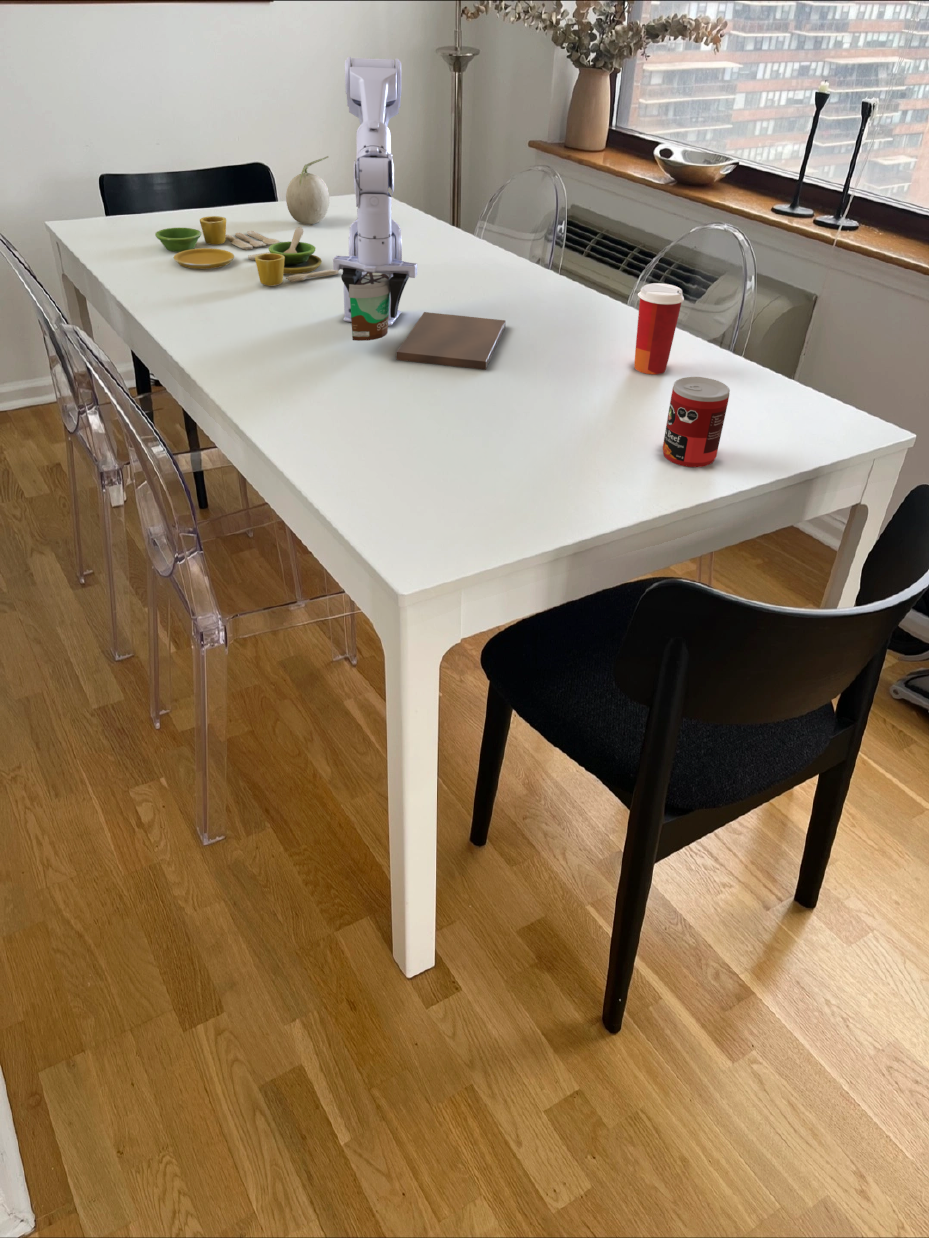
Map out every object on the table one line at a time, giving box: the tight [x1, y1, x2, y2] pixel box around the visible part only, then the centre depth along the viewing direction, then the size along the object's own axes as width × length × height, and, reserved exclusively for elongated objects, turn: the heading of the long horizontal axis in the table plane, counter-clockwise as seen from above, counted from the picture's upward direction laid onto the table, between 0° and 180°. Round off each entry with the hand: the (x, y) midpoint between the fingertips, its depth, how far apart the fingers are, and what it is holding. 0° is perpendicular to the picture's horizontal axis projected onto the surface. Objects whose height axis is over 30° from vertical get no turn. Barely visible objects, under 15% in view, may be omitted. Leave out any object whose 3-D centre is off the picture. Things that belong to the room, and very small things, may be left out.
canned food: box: [662, 376, 731, 468], centre depth 143 cm, size 8×8×11 cm
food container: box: [349, 272, 391, 342], centre depth 173 cm, size 12×6×10 cm, turn 169°
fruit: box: [285, 155, 330, 225], centre depth 239 cm, size 10×12×15 cm
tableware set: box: [154, 215, 340, 287], centre depth 214 cm, size 41×28×6 cm
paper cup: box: [633, 282, 685, 375], centre depth 170 cm, size 8×8×14 cm
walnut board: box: [395, 311, 507, 371], centre depth 180 cm, size 16×22×2 cm
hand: (375, 314), depth 174 cm, fingers closed on food container, 6 cm apart
